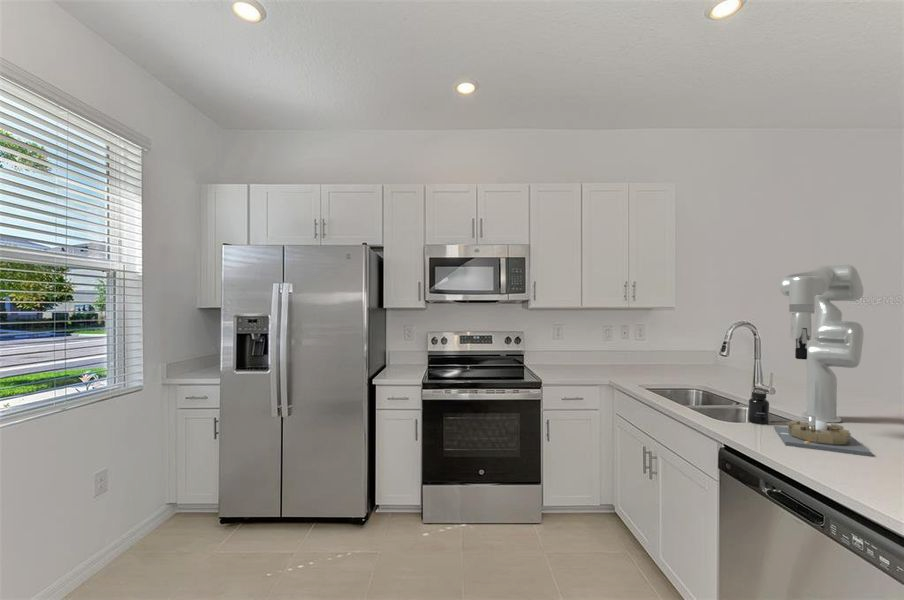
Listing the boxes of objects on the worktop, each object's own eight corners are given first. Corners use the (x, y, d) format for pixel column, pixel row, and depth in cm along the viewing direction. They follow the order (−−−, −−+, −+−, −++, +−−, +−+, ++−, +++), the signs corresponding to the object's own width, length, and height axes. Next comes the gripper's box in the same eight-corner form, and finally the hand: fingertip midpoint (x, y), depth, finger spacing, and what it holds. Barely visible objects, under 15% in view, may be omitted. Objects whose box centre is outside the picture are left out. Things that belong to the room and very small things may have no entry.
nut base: (774, 429, 171) (774, 410, 171) (849, 437, 160) (849, 418, 160) (785, 445, 151) (785, 424, 151) (871, 456, 141) (872, 434, 141)
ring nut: (781, 434, 158) (781, 412, 158) (800, 428, 167) (800, 406, 167) (839, 447, 145) (839, 422, 145) (856, 439, 154) (856, 415, 154)
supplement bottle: (759, 425, 175) (759, 394, 175) (743, 420, 182) (744, 391, 182) (773, 424, 177) (773, 393, 177) (757, 419, 184) (757, 390, 184)
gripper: (785, 309, 175) (784, 356, 175) (793, 309, 162) (792, 360, 162) (809, 309, 172) (808, 357, 172) (819, 309, 159) (819, 362, 159)
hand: (801, 358), depth 167 cm, fingers closed
